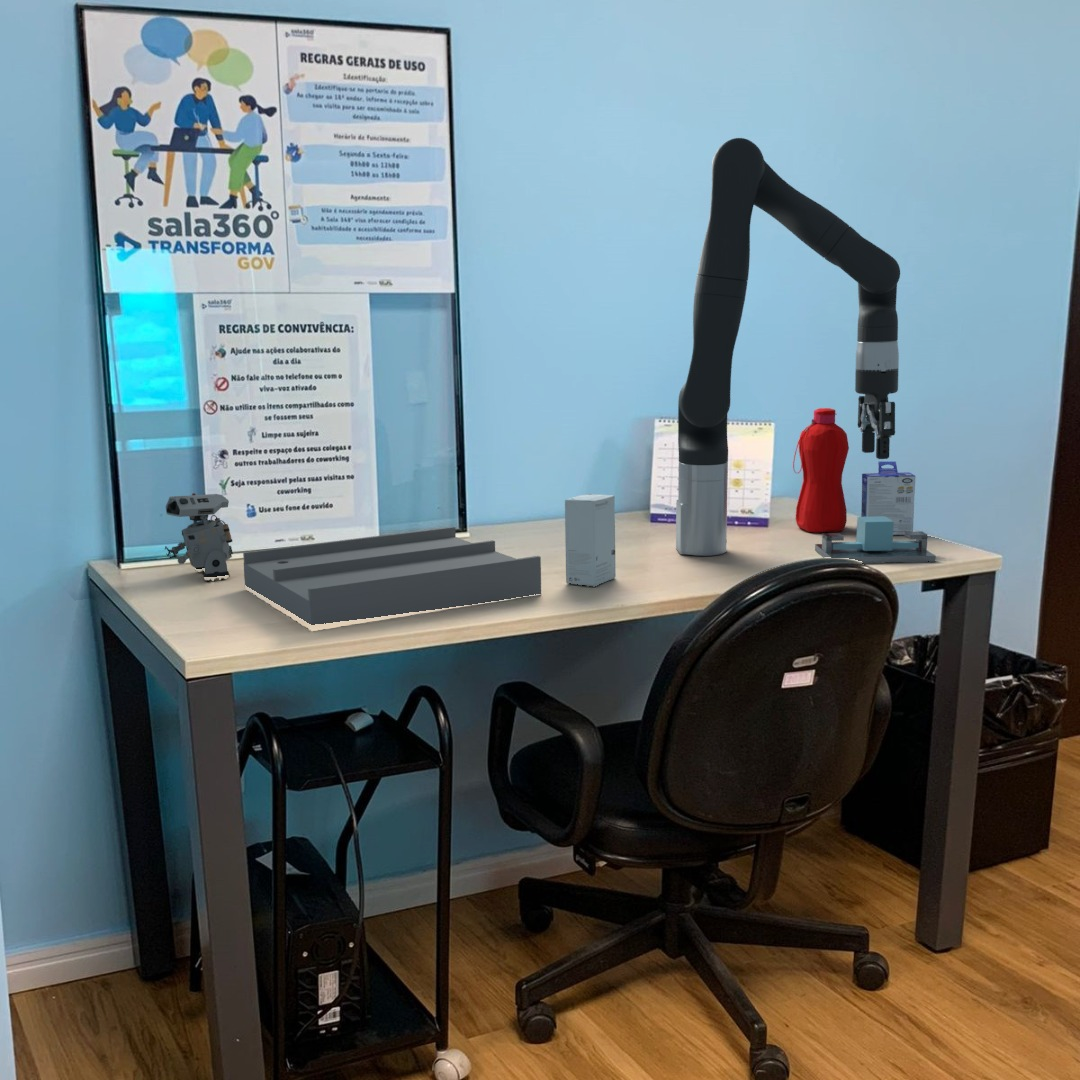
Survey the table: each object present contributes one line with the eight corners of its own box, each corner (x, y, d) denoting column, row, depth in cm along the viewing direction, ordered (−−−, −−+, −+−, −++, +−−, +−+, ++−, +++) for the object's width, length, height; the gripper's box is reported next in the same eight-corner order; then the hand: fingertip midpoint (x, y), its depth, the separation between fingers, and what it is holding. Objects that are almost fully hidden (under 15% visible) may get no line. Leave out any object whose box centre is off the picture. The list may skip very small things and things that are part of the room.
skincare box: (595, 588, 208) (594, 501, 205) (563, 584, 211) (562, 498, 208) (617, 577, 215) (616, 493, 212) (586, 574, 218) (585, 491, 215)
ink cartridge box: (907, 530, 253) (910, 460, 250) (914, 535, 247) (918, 464, 244) (858, 530, 253) (861, 460, 250) (865, 536, 248) (868, 464, 245)
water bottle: (783, 526, 258) (786, 407, 253) (832, 524, 260) (836, 405, 255) (800, 535, 249) (803, 411, 244) (851, 532, 251) (855, 410, 246)
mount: (831, 564, 223) (833, 530, 222) (814, 550, 235) (816, 518, 234) (935, 562, 224) (937, 528, 223) (913, 548, 236) (914, 516, 234)
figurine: (162, 575, 221) (156, 493, 218) (227, 568, 226) (222, 488, 223) (171, 586, 213) (165, 500, 210) (238, 578, 218) (233, 495, 215)
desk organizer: (541, 597, 204) (540, 556, 202) (311, 634, 184) (309, 589, 182) (454, 563, 230) (453, 526, 229) (245, 592, 210) (242, 552, 209)
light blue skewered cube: (835, 551, 226) (836, 522, 225) (827, 545, 231) (828, 517, 230) (921, 549, 227) (922, 520, 226) (911, 543, 232) (913, 515, 231)
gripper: (845, 365, 230) (843, 451, 233) (868, 369, 216) (866, 461, 219) (884, 363, 230) (883, 449, 233) (910, 368, 216) (908, 460, 219)
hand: (875, 455), depth 226 cm, fingers open, 8 cm apart
